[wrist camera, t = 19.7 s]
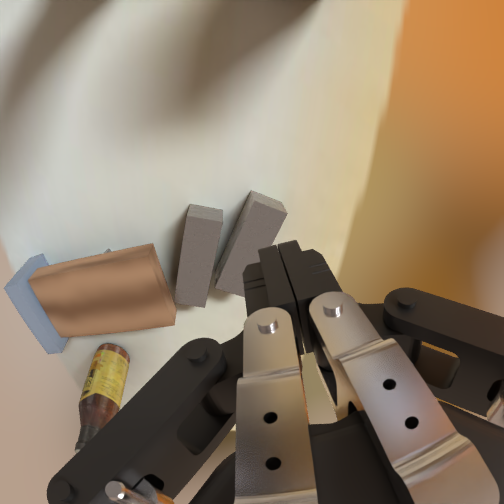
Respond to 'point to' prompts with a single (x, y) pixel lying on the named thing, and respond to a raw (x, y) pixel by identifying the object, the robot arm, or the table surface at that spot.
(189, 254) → the bar middle
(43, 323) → the stop block
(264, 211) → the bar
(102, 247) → the table surface
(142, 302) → the slab
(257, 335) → the robot arm
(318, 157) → the table surface
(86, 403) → the sauce bottle
